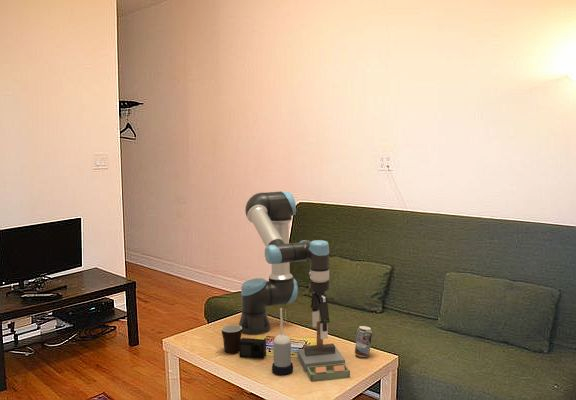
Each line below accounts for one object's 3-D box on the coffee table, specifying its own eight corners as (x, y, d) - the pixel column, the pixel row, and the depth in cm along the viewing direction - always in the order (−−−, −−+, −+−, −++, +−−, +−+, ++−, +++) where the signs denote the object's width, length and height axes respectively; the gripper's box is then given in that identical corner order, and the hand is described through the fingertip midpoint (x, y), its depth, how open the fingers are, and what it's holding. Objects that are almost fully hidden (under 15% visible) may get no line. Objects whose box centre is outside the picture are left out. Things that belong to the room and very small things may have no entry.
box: (306, 372, 195) (306, 366, 195) (344, 369, 198) (344, 362, 198) (311, 381, 189) (311, 374, 188) (350, 377, 191) (349, 370, 191)
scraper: (304, 353, 205) (304, 322, 204) (333, 350, 207) (333, 319, 206) (306, 356, 202) (305, 324, 201) (335, 353, 204) (335, 322, 203)
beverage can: (351, 356, 210) (351, 328, 209) (362, 350, 216) (362, 323, 214) (364, 360, 206) (364, 331, 205) (374, 354, 211) (374, 326, 210)
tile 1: (315, 367, 189) (316, 372, 188) (325, 366, 190) (326, 371, 189) (313, 370, 193) (314, 375, 192) (323, 369, 194) (324, 374, 192)
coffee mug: (239, 356, 212) (238, 332, 211) (219, 354, 213) (218, 331, 212) (246, 345, 223) (246, 322, 222) (228, 343, 225) (227, 321, 224)
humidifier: (275, 365, 202) (274, 304, 199) (295, 368, 200) (294, 306, 197) (268, 374, 195) (267, 311, 192) (289, 377, 192) (288, 313, 189)
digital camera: (238, 358, 209) (237, 342, 208) (242, 353, 214) (241, 337, 214) (262, 360, 207) (262, 344, 206) (266, 355, 212) (265, 339, 211)
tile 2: (333, 365, 191) (334, 371, 190) (344, 364, 192) (344, 370, 191) (331, 367, 195) (332, 373, 194) (341, 366, 195) (342, 372, 194)
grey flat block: (297, 357, 209) (297, 349, 209) (334, 353, 212) (334, 345, 212) (305, 372, 196) (305, 363, 195) (345, 368, 199) (345, 359, 198)
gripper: (303, 272, 212) (303, 322, 215) (318, 289, 189) (318, 345, 191) (320, 271, 214) (321, 321, 216) (337, 287, 190) (337, 343, 193)
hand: (319, 332), depth 204 cm, fingers open, 12 cm apart
